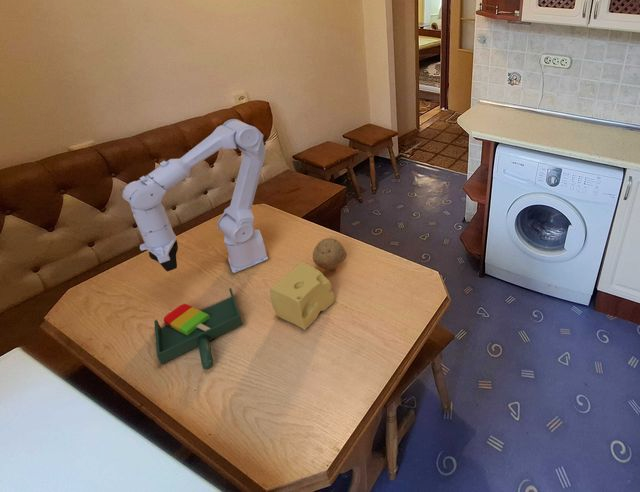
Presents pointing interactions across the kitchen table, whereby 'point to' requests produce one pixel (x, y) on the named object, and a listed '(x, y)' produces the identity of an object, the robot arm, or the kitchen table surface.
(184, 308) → the popsicle
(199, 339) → the dustpan
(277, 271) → the kitchen table surface
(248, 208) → the robot arm
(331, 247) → the natural sponge
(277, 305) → the cheese
